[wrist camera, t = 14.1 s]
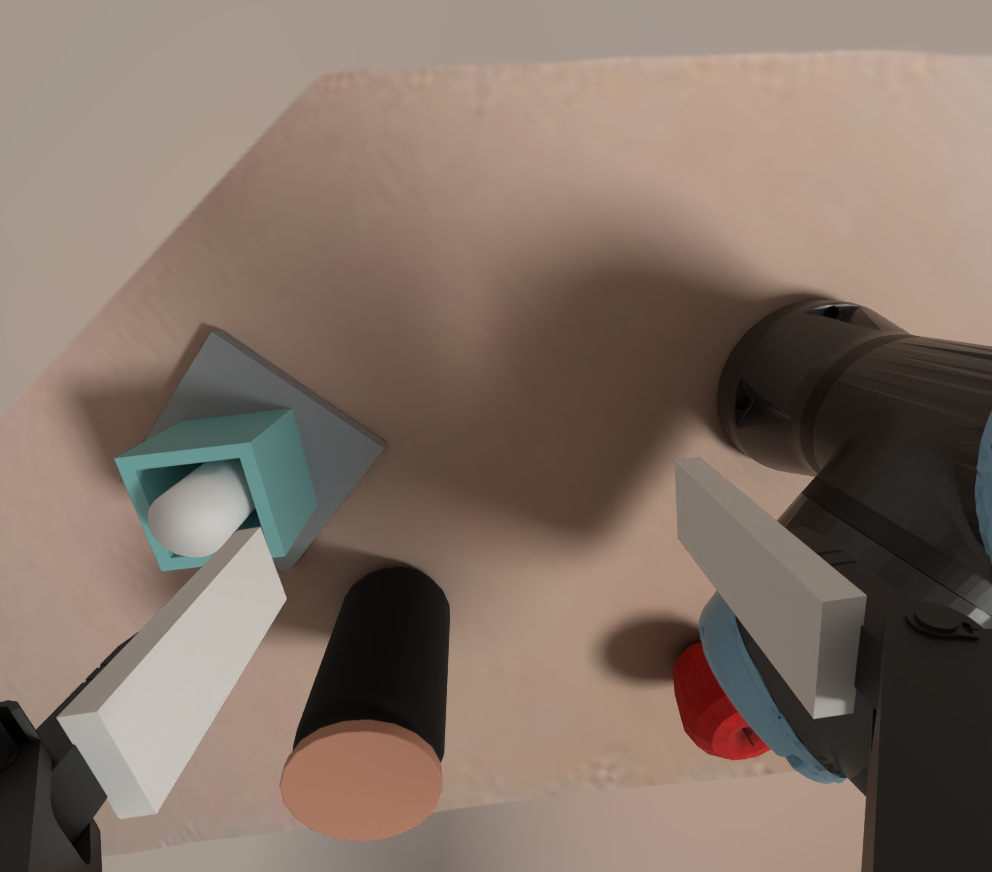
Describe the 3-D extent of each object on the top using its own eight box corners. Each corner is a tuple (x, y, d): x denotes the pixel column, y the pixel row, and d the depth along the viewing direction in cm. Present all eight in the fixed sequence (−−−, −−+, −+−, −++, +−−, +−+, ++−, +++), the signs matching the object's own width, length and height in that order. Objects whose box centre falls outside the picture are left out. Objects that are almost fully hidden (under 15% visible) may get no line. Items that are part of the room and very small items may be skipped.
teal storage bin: (292, 408, 39) (250, 442, 31) (317, 504, 42) (285, 556, 34) (182, 421, 39) (114, 458, 31) (216, 516, 42) (161, 571, 34)
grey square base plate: (387, 442, 42) (360, 503, 31) (292, 564, 46) (238, 657, 35) (221, 329, 38) (123, 354, 27) (131, 473, 41) (13, 546, 31)
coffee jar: (323, 589, 47) (243, 772, 30) (416, 544, 46) (388, 707, 29) (381, 661, 50) (339, 860, 33) (469, 620, 49) (471, 805, 32)
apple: (649, 689, 54) (692, 787, 44) (663, 621, 51) (713, 711, 41) (732, 687, 55) (793, 783, 45) (750, 621, 52) (821, 708, 41)
